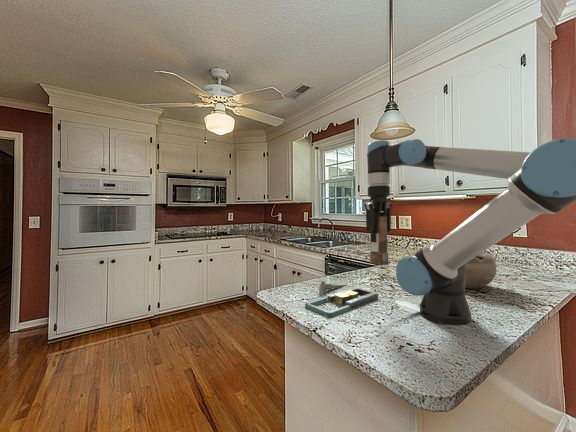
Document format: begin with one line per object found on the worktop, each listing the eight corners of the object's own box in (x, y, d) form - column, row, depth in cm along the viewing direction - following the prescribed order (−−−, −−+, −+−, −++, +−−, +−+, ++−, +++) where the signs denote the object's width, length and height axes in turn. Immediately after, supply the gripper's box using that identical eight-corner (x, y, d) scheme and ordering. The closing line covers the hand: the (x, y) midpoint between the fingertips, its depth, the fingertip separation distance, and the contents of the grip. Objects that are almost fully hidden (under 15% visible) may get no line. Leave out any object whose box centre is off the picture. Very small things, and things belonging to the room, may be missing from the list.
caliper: (321, 297, 113) (321, 282, 113) (319, 296, 114) (319, 282, 114) (350, 287, 126) (350, 274, 126) (348, 286, 127) (348, 273, 127)
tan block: (349, 303, 101) (349, 295, 101) (341, 305, 99) (341, 297, 99) (342, 300, 105) (342, 292, 105) (334, 302, 103) (334, 294, 103)
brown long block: (389, 263, 96) (389, 216, 96) (383, 265, 94) (382, 216, 93) (375, 261, 101) (374, 216, 100) (368, 262, 99) (368, 216, 98)
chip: (358, 300, 104) (358, 292, 104) (352, 303, 102) (352, 295, 102) (349, 297, 107) (349, 290, 107) (343, 300, 105) (343, 292, 104)
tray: (350, 312, 95) (349, 305, 95) (329, 320, 89) (329, 313, 89) (325, 303, 105) (325, 297, 105) (305, 310, 98) (305, 303, 98)
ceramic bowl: (476, 296, 110) (476, 260, 110) (429, 283, 130) (429, 252, 130) (507, 289, 119) (507, 255, 119) (458, 277, 139) (459, 248, 139)
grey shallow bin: (379, 301, 106) (379, 293, 106) (351, 312, 96) (351, 303, 96) (354, 294, 116) (354, 286, 115) (326, 303, 105) (326, 295, 105)
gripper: (382, 187, 105) (383, 247, 105) (354, 185, 94) (355, 252, 95) (401, 185, 99) (401, 249, 100) (373, 183, 88) (373, 254, 89)
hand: (379, 250), depth 97 cm, fingers closed on brown long block, 4 cm apart
